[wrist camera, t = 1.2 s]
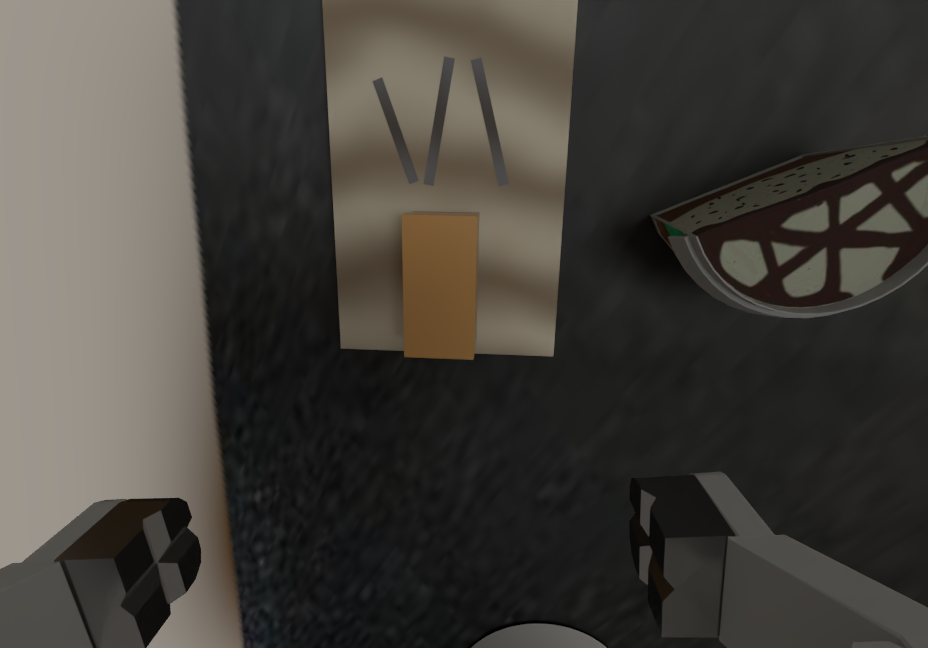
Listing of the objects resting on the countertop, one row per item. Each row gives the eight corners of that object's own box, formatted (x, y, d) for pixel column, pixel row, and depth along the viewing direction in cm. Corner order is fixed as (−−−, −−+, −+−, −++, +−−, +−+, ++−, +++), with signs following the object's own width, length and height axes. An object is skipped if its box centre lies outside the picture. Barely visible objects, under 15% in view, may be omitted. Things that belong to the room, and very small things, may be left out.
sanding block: (476, 338, 32) (473, 359, 28) (415, 336, 32) (404, 357, 28) (479, 212, 30) (476, 216, 26) (413, 211, 30) (401, 214, 26)
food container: (654, 313, 32) (721, 366, 23) (625, 224, 31) (683, 241, 21) (851, 241, 30) (1016, 267, 21) (830, 143, 29) (996, 122, 19)
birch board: (550, 348, 33) (553, 356, 32) (347, 341, 34) (340, 348, 33) (576, -27, 27) (580, -39, 26) (329, -24, 28) (320, -36, 27)
